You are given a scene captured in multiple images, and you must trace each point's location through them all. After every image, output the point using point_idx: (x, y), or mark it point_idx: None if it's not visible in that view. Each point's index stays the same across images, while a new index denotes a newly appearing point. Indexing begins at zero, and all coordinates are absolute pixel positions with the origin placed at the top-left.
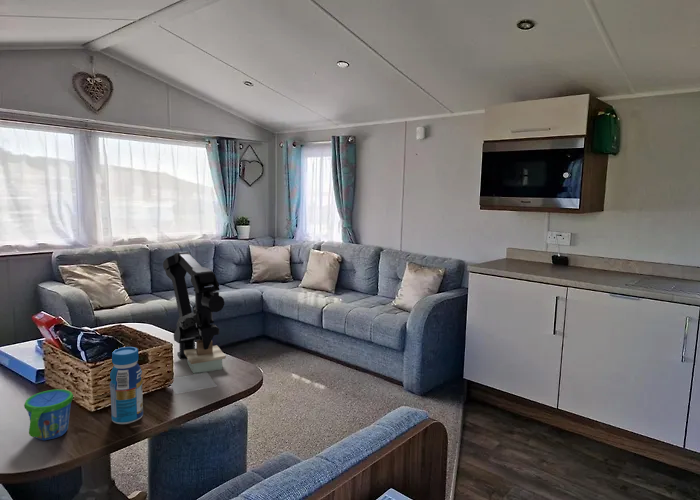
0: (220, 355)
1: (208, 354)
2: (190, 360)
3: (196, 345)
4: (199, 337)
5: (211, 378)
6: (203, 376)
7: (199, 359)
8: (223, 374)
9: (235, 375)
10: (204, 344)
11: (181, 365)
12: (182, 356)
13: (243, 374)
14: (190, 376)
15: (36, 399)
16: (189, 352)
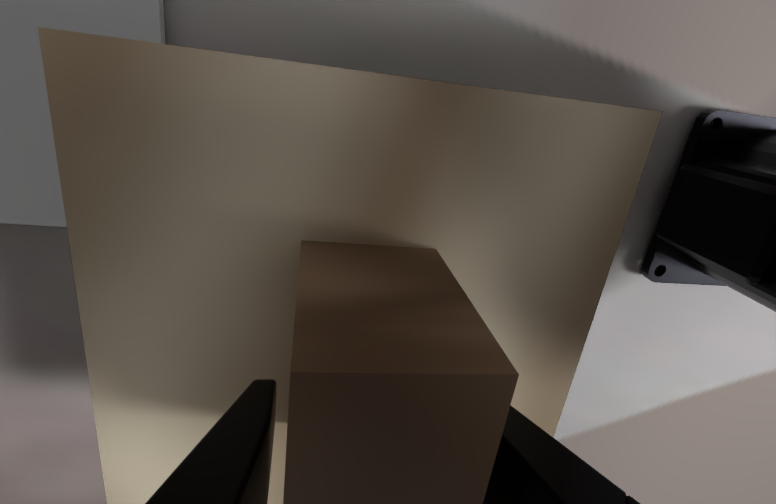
0: (152, 483)
1: (268, 370)
2: (97, 35)
3: (471, 309)
4: (585, 491)
5: None
6: (51, 160)
7: (96, 201)
8: (78, 351)
9: (10, 429)
10: (187, 470)
11: (541, 59)
12: (725, 141)
13: (11, 484)
14: (112, 19)
15: None
16: (512, 157)
